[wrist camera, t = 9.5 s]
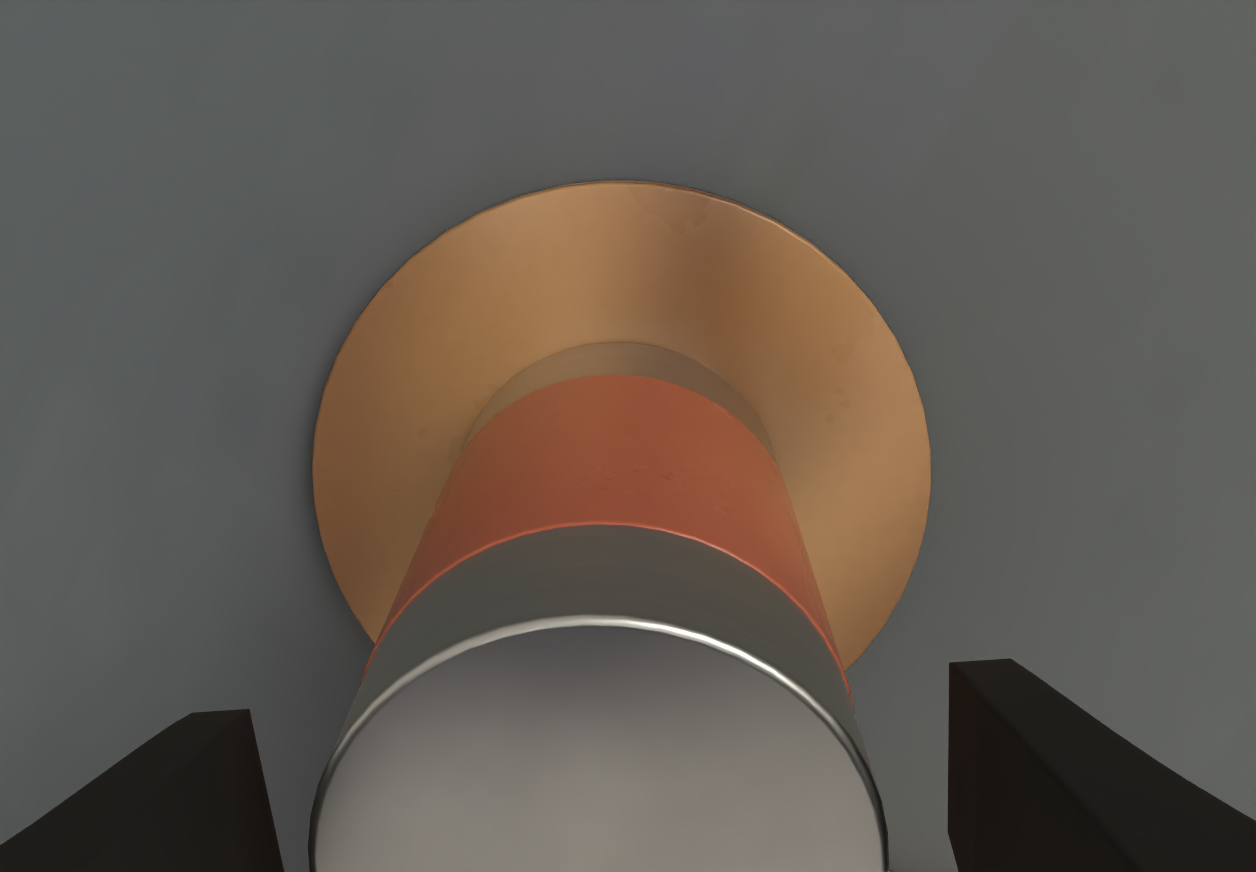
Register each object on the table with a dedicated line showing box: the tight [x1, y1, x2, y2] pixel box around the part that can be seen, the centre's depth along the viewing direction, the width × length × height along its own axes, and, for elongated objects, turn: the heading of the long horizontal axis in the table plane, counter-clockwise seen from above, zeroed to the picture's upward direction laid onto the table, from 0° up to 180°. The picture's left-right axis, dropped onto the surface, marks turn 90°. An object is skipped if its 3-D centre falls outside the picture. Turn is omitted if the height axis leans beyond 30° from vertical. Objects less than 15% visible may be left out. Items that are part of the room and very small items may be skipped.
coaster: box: [312, 180, 931, 672], centre depth 19 cm, size 10×10×1 cm
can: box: [308, 342, 889, 872], centre depth 15 cm, size 5×5×9 cm
